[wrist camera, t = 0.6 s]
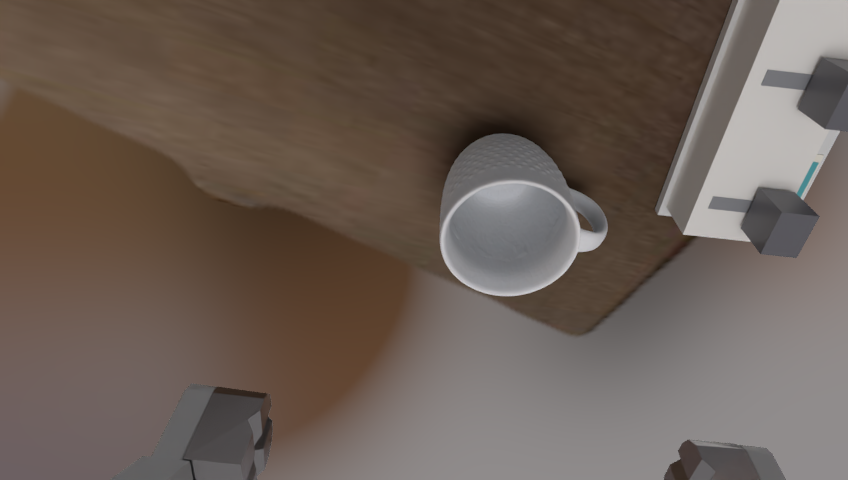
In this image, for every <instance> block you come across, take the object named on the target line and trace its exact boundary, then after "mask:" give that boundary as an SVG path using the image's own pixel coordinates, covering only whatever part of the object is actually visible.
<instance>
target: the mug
mask: <svg viewBox="0 0 848 480" xmlns="http://www.w3.org/2000/svg"><path fill="white" fill-rule="evenodd" d="M576 211H578V212H579V213H581V214H582V215H583V216H584V217H585V218H586V219H587V220H588V221H589V223H590V224H591V226H592V228H593V231H594V232H591V231H587V230H584V229H581V228H580V224H579V220H578V216H577V213H576ZM607 229H608V225H607V219H606V217H605V215H604V213H603V211H602V210H601V208H600V207H599V206H598V205H597V204H596V203H595V202H594V201H593V200H592V199H591V198H589V197H587V196H586V195H584V194H582V193H580V192H578V191H576V190H573V189H571V188H569V187H568V186H567V184H566V180H565V179H564V178H563V176H562V172H561V171H560V170H559V169H558V167H557V165H556V164H555V163H554V162H553V160H552V158H551V157H549V156H548V155H547V153H546V152H545V151H543V150H542V149H541V148H540V147H539V146H538V145H536V144H535V143H533V142H532V141H529V140H528V139H526V138H523V137H521V136H518V135H513V134H504V133H501V134H493V135H488V136H485V137H483V138H480V139H478V140H476V141H475V142H473V143H471V144H470V145H469V146H468V147H466V148H465V149H464V150H463V152H461V153H460V154H459V156H458V158H457V159H456V160H455V161H454V164H453V165H452V166H451V170H450V172H449V173H448V176H447V180H446V181H445V187H444V189H443V196H442V204H441V214H440V248H441V253H442V256H443V259H444V261H445V263H446V265H447V267H448V268H449V270H450V271H451V272H452V273H453V274H454V276H455V277H456V278H458V279H459V280H460V281H461V282H462V283H464V284H465V285H467V286H469V287H471V288H473V289H475V290H477V291H480V292H483V293H486V294H491V295H497V296H517V295H523V294H527V293H531V292H534V291H537V290H539V289H541V288H544V287H546V286H547V285H549V284H551V283H552V282H554V281H555V280H557V279H558V278H559V277H560V276H561V275H563V274H564V273H565V272H566V271H567V269H568V268H569V267H570V265H571V264H572V262H573V261H574V259H575V257H576V255H577V252H586V251H591V250H594V249H595V248H597V247H598V246H599V245H600V244H601V243H602V241H603V240H604V238H605V236H606V234H607Z"/></svg>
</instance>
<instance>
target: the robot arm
mask: <svg viewBox="0 0 848 480" xmlns="http://www.w3.org/2000/svg"><path fill="white" fill-rule="evenodd" d="M270 408H271V397H270V394H266V393H259V392H252V391H245V390H237V389H230V388H223V387H215V386H207V385H199V384H190V386H189V387H188V388H187V389H186V390H185V391H184V393H183V395H182V397H181V399H180V401H179V403H178V405H177V407H176V409H175V411H174V413H173V414H172V417H171V418H170V420H169V422H168V424H167V426H166V428H165V430H164V432H163V434H162V436H161V438H160V440H159V442H158V444H157V446H156V448H155V450H154V452H153V454H152V456H151V457H150V456H142V457H141V458H139V459H138V460H137V461H135V462H134V463H133V464H131V465H130V466H128V467H127V468H126V469H124V470H123V471H121V472H120V473H119V474H117V475H116V476H114V477H113V478H112V479H110V480H257V476H258V475H259V474H260V473H261V472H262V471H264V469H265V467H266V464H267V460H268V457H269V452H270V447H271V442H272V432H273V426H272V420H271V419H270V418H269V417H268V414H269V411H270ZM678 452H679V455H680V458H681V459H680V460H678V461H676V462H674V463H672V464H670V466H669V468H668V470H667V472H666V474H665V477H664V480H786V479H785V477H784V475H783V473H782V471H781V470H780V467H779V466H778V464H777V462H776V460H775V458H774V456H773V455H772V453H771V452H770V451H769V450H768V449H767V448H761V447H752V446H743V445H736V444H729V443H719V442H709V441H698V440H687V441H685V442H683V443H682V445H681V447H680V448H679V450H678Z"/></svg>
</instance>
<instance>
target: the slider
mask: <svg viewBox="0 0 848 480" xmlns="http://www.w3.org/2000/svg"><path fill="white" fill-rule="evenodd" d="M818 218H819V216H818V215H817V214H816V213H815V212H814V211H813V210H812V209H811V208H810V207H809V206H808V205H807V204H806V203H805V202H804V201H803V200H802V199H801V198H800V197H799V196H798V195H797V194H796V193H795V192H789V191H780V190H771V189H762V188H760V189H759V191H758V193H757V195H756V197H755V199H754V201H753V203H752V205H751V208H750V210H749V212H748V214H747V216H746V218H745V220H744V222H743V224H742V226H741V229H742V230H743V232H744V233H745V234H746V236H747V237H748V238H749V240H750V241H751V242H752V243H753V245H754V246H755V247H756V249H757V250H758V251H759V252H760V254H766V255H775V256H784V257H793V258H796V257H797V256H798V254H799V253H800V251H801V249H802V247H803V245H804V243H805V242H806V240H807V238H808V236H809V234H810V233H811V231H812V229H813V227H814V226H815V224H816V222H817V220H818Z"/></svg>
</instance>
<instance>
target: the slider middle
mask: <svg viewBox="0 0 848 480" xmlns="http://www.w3.org/2000/svg"><path fill="white" fill-rule="evenodd" d="M798 110H799V111H801V112H802V113H804V114H805V115H806V116H808V117H809V118H810V119H812V120H813V121H814V122H816V123H817V124H819V125H820V126H821V127H823V128H824V129H828V130H837V131H846V132H848V60H841V59H832V58H823V57H822V58H821V61H820V63H819V65H818V67H817V69H816V71H815V73H814V75H813V77H812V79H811V82H810V84H809V86H808V88H807V90H806V92H805V94H804V96H803V98H802V100H801V103H800V105H799V107H798Z"/></svg>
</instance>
